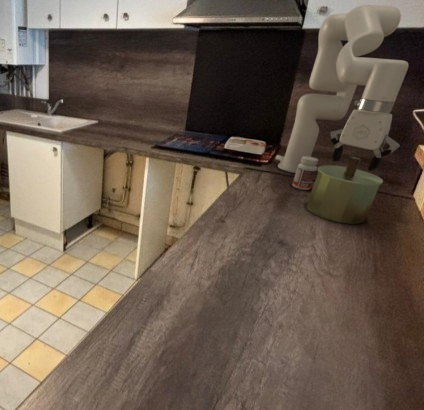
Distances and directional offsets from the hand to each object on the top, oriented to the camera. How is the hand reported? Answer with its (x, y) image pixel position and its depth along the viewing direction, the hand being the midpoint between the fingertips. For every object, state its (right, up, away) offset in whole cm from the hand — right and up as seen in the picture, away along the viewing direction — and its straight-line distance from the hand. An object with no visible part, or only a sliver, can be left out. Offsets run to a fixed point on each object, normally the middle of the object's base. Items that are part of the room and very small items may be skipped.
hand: (352, 165), depth 107 cm
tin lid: (0, -3, +2) cm, 3 cm away
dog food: (+1, +16, +75) cm, 77 cm away
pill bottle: (+1, -5, +27) cm, 28 cm away
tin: (-1, -14, +7) cm, 16 cm away
